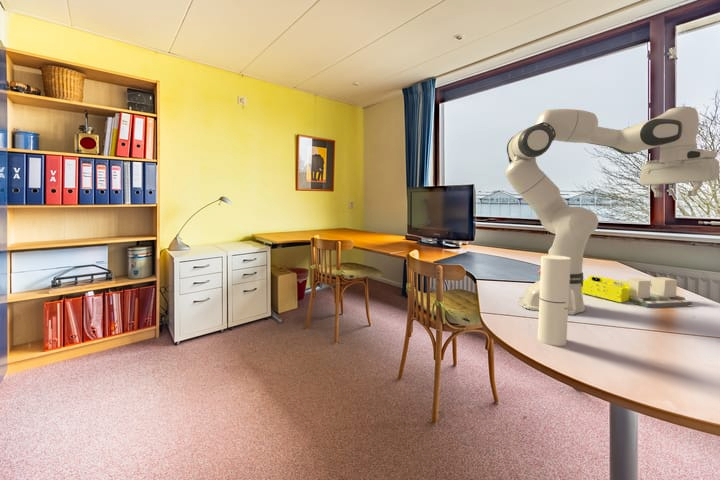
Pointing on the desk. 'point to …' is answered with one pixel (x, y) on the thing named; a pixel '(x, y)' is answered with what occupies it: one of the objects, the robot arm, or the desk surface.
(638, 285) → the button
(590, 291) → the yellow toy chassis
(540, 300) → the cylindrical container
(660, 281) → the button
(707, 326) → the desk surface
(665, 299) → the button board
